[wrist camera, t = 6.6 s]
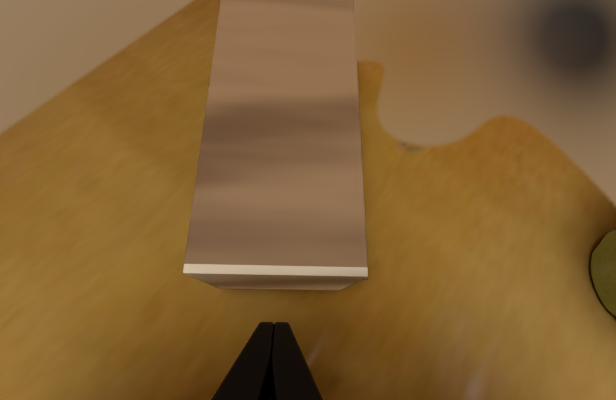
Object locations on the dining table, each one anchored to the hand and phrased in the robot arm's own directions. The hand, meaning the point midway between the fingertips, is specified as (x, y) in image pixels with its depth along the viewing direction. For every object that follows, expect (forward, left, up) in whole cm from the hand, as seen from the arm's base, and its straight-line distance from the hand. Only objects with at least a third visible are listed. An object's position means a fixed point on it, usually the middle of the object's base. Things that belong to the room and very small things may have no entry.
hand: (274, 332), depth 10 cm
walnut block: (+1, -1, -3) cm, 4 cm away
